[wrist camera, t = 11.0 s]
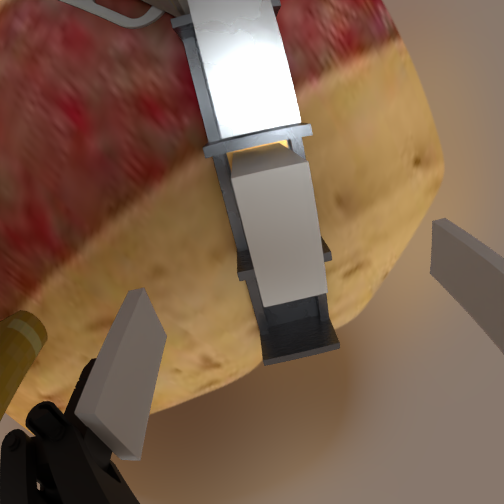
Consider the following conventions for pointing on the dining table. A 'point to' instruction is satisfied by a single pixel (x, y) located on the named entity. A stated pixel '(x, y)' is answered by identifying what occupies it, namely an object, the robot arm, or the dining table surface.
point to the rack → (252, 142)
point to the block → (280, 222)
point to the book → (18, 352)
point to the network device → (172, 3)
